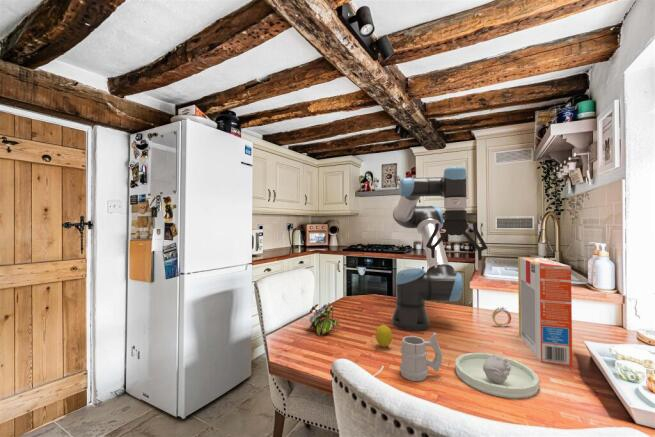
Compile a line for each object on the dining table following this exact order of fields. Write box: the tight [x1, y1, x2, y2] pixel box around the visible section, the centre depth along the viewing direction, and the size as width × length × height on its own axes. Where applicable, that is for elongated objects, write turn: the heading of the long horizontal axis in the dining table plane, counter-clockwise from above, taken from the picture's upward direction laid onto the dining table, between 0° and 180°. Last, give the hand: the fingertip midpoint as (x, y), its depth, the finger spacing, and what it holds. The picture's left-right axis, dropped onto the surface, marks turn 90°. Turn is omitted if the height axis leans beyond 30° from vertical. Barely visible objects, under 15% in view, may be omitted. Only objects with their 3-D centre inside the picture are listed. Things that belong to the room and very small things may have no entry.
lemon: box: [375, 323, 393, 349], centre depth 103 cm, size 6×6×8 cm
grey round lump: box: [483, 353, 511, 384], centre depth 78 cm, size 6×7×7 cm
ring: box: [491, 306, 512, 328], centre depth 123 cm, size 7×3×8 cm, turn 76°
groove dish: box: [455, 352, 540, 400], centre depth 83 cm, size 20×20×2 cm
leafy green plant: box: [309, 302, 340, 337], centre depth 119 cm, size 13×12×14 cm
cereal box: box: [517, 256, 573, 367], centre depth 101 cm, size 23×8×30 cm, turn 161°
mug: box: [399, 332, 443, 382], centre depth 84 cm, size 8×12×12 cm, turn 87°
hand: (455, 268), depth 107 cm, fingers open, 13 cm apart
